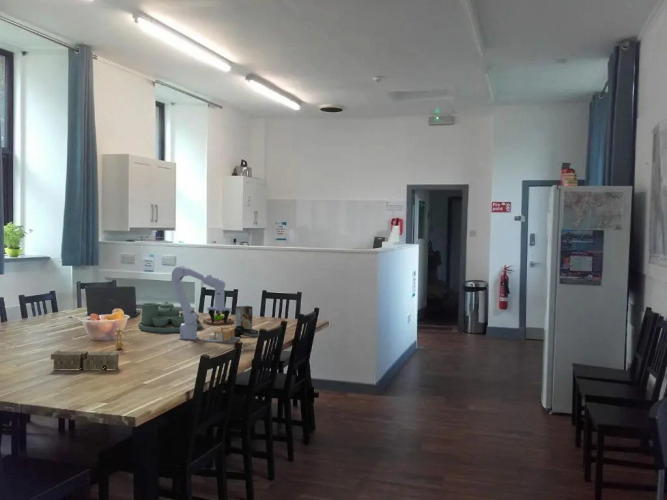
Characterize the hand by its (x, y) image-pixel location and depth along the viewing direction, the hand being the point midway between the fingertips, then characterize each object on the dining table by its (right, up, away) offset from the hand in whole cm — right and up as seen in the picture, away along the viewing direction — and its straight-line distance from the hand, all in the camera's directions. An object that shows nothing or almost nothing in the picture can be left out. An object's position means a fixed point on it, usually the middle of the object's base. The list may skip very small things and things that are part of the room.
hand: (219, 322), depth 349 cm
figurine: (-48, -10, -34) cm, 60 cm away
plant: (-12, -8, +57) cm, 59 cm away
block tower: (-48, -13, -75) cm, 90 cm away
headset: (+13, -10, +15) cm, 22 cm away
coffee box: (+10, -9, +29) cm, 32 cm away
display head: (+2, -10, -2) cm, 11 cm away
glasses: (+4, -9, -2) cm, 10 cm away
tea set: (-39, -8, +34) cm, 53 cm away
